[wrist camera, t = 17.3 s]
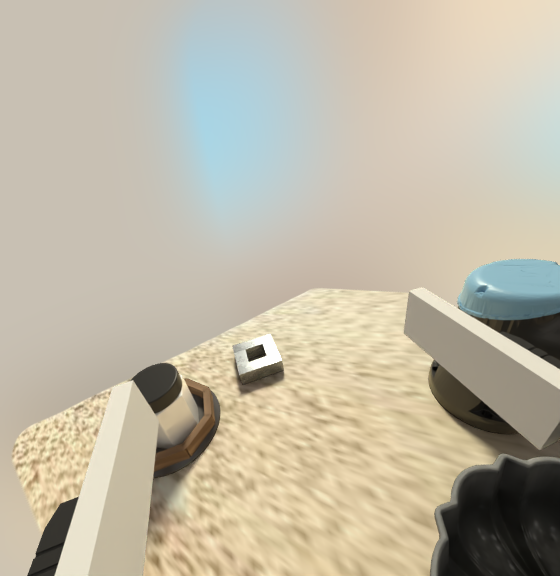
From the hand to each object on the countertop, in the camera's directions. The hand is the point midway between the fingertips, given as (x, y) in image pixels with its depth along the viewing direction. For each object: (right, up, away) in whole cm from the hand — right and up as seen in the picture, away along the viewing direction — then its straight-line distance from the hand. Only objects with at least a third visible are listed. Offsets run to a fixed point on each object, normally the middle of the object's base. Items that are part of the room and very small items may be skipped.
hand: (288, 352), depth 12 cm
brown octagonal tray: (-20, -22, +36) cm, 46 cm away
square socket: (-5, -14, +46) cm, 48 cm away
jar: (-19, -22, +35) cm, 45 cm away
